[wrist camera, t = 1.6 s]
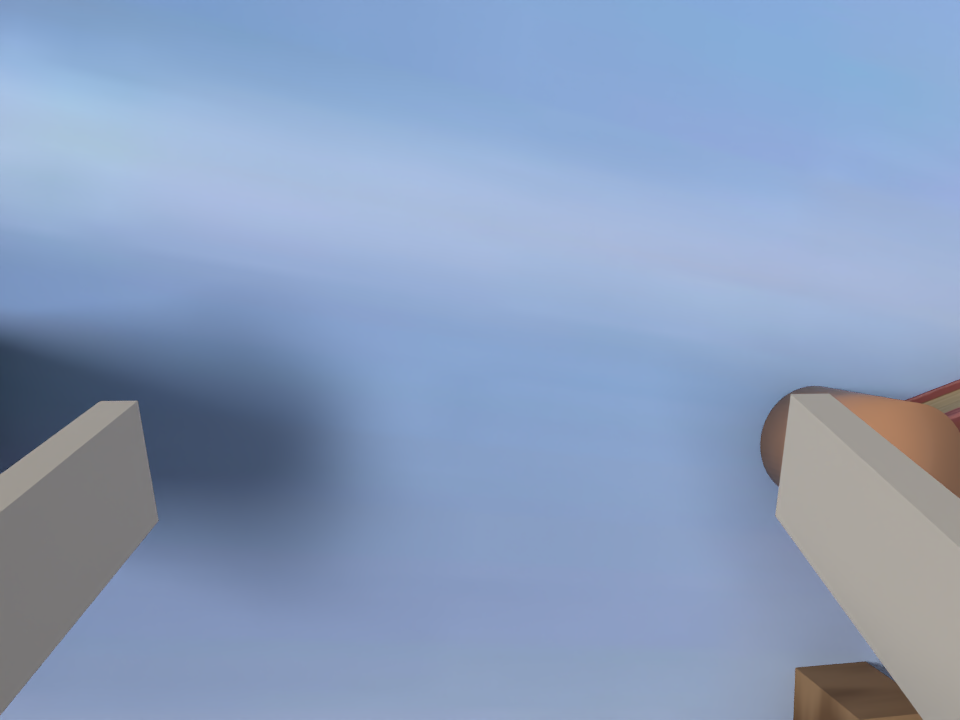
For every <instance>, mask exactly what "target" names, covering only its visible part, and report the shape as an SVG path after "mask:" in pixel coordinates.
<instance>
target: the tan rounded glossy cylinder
mask: <svg viewBox="0 0 960 720" xmlns="http://www.w3.org/2000/svg"><path fill="white" fill-rule="evenodd" d="M791 394H830V395H832V396H833V397H834V398H835V399H837V400H838V401H839V402H840V403H842V404H843V405H844V406H845V407H847V408H848V409H849V410H850V411H852V412H853V413H854V414H855V415H857V416H858V417H859V418H860V419H861V420H863V421H864V422H865V423H866V424H868V425H869V426H870V427H871V428H873V429H874V430H875V431H876V432H878V433H879V434H880V435H881V436H883V437H884V438H885V439H886V440H888V441H889V442H890V443H891V444H893V445H894V446H895V447H896V448H897V449H899V450H900V451H901V452H902V453H904V454H905V455H906V456H907V457H909V458H910V459H911V460H912V461H914V462H915V463H916V464H917V465H919V466H920V467H921V468H922V469H924V470H925V471H926V472H927V473H928V474H930V475H931V476H932V477H933V478H935V479H936V480H937V481H938V482H940V483H941V484H942V485H943V486H945V487H946V488H947V489H948V490H950V491H951V492H952V493H953V494H955V495H956V496H957V497H958V498H959V497H960V432H959V430H958V428H957V427H956V426H955V424H954V423H953V421H952V420H951V419H950V418H949V417H948V416H947V415H945V414H944V413H943V412H941V411H940V410H938V409H936V408H934V407H932V406H929V405H926V404H921V403H916V402H910V401H904V400H898V399H892V398H886V397H880V396H874V395H869V394H863V393H857V392H851V391H845V390H839V389H833V388H827V387H822V386H808V387H803V388H800V389H797V390H794V391H793V392H791V393H789V394H787V395H786V396H785V397H783V398H782V399H781V400H780V401H779V402H778V403H777V404H776V405H775V406H774V407H773V409H772V410H771V412H770V413H769V415H768V417H767V419H766V421H765V423H764V426H763V429H762V434H761V442H760V449H761V457H762V461H763V465H764V467H765V469H766V471H767V473H768V475H769V477H770V478H771V479H772V480H773V482H774V483H775V484H776V485H777V486H778V487H779V483H780V475H781V467H782V459H783V451H784V443H785V436H786V428H787V420H788V412H789V404H790V396H791Z"/></svg>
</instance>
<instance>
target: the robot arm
mask: <svg viewBox="0 0 960 720" xmlns="http://www.w3.org/2000/svg"><path fill="white" fill-rule="evenodd" d="M775 516H776V517H777V519H778V520H779V522H780V523H781V524H782V526H783V527H784V529H785V530H786V531H787V533H788V534H789V535H790V537H791V538H792V540H793V541H794V542H795V544H796V545H797V546H798V548H799V549H800V551H801V552H802V553H803V555H804V556H805V557H806V559H807V560H808V562H809V563H810V564H811V566H812V567H813V569H814V570H815V571H816V573H817V574H818V575H819V577H820V578H821V580H822V581H823V582H824V584H825V585H826V586H827V588H828V589H829V591H830V592H831V593H832V595H833V596H834V598H835V599H836V600H837V602H838V603H839V604H840V606H841V607H842V609H843V610H844V611H845V613H846V614H847V615H848V617H849V618H850V620H851V621H852V622H853V624H854V625H855V627H856V628H857V629H858V631H859V632H860V633H861V635H862V636H863V638H864V639H865V640H866V642H867V643H868V644H869V646H870V647H871V649H872V650H873V651H874V653H875V654H876V656H877V657H878V658H879V660H880V661H881V662H882V664H883V665H884V667H885V668H886V669H887V671H888V672H889V673H890V675H891V676H892V678H893V679H894V680H895V682H896V683H897V685H898V686H899V687H900V689H901V690H902V691H903V693H904V694H905V696H906V697H907V698H908V700H909V701H910V702H911V704H912V705H913V707H914V708H915V709H916V711H917V712H918V714H919V715H920V716H921V718H922V719H923V720H960V498H958V497H957V496H956V495H955V494H953V493H952V492H951V491H950V490H948V489H947V488H946V487H945V486H943V485H942V484H941V483H940V482H938V481H937V480H936V479H935V478H933V477H932V476H931V475H930V474H928V473H927V472H926V471H925V470H924V469H922V468H921V467H920V466H919V465H917V464H916V463H915V462H914V461H912V460H911V459H910V458H909V457H907V456H906V455H905V454H904V453H902V452H901V451H900V450H899V449H897V448H896V447H895V446H894V445H893V444H891V443H890V442H889V441H888V440H886V439H885V438H884V437H883V436H881V435H880V434H879V433H878V432H876V431H875V430H874V429H873V428H871V427H870V426H869V425H868V424H866V423H865V422H864V421H863V420H861V419H860V418H859V417H858V416H857V415H855V414H854V413H853V412H852V411H850V410H849V409H848V408H847V407H845V406H844V405H843V404H842V403H840V402H839V401H838V400H837V399H835V398H834V397H833V396H832V395H830V394H791V396H790V404H789V412H788V420H787V428H786V436H785V443H784V451H783V459H782V467H781V475H780V483H779V491H778V498H777V506H776V514H775ZM158 521H159V520H158V514H157V509H156V503H155V497H154V491H153V486H152V480H151V474H150V468H149V463H148V457H147V451H146V445H145V439H144V434H143V428H142V422H141V416H140V411H139V405H138V401H100V402H98V403H97V404H95V405H94V406H93V407H91V408H90V409H89V410H87V411H86V412H85V413H83V414H82V415H81V416H79V417H78V418H76V419H75V420H74V421H72V422H71V423H70V424H68V425H67V426H66V427H64V428H63V429H61V430H60V431H59V432H57V433H56V434H55V435H53V436H52V437H51V438H49V439H48V440H46V441H45V442H44V443H42V444H41V445H40V446H38V447H37V448H36V449H34V450H33V451H31V452H30V453H29V454H27V455H26V456H25V457H23V458H22V459H21V460H19V461H18V462H16V463H15V464H14V465H12V466H11V467H10V468H8V469H7V470H6V471H4V472H3V473H1V474H0V715H1V714H2V713H3V711H4V710H5V709H6V708H7V706H8V705H9V704H10V703H11V702H12V700H13V699H14V698H15V697H16V695H17V694H18V693H19V692H20V690H21V689H22V688H23V687H24V686H25V684H26V683H27V682H28V681H29V679H30V678H31V677H32V676H33V674H34V673H35V672H36V671H37V670H38V668H39V667H40V666H41V665H42V663H43V662H44V661H45V660H46V659H47V657H48V656H49V655H50V654H51V652H52V651H53V650H54V649H55V647H56V646H57V645H58V644H59V643H60V641H61V640H62V639H63V638H64V636H65V635H66V634H67V633H68V631H69V630H70V629H71V628H72V627H73V625H74V624H75V623H76V622H77V620H78V619H79V618H80V617H81V616H82V614H83V613H84V612H85V611H86V609H87V608H88V607H89V606H90V604H91V603H92V602H93V601H94V600H95V598H96V597H97V596H98V595H99V593H100V592H101V591H102V590H103V588H104V587H105V586H106V585H107V584H108V582H109V581H110V580H111V579H112V577H113V576H114V575H115V574H116V573H117V571H118V570H119V569H120V568H121V566H122V565H123V564H124V563H125V561H126V560H127V559H128V558H129V557H130V555H131V554H132V553H133V552H134V550H135V549H136V548H137V547H138V545H139V544H140V543H141V542H142V541H143V539H144V538H145V537H146V536H147V534H148V533H149V532H150V531H151V530H152V528H153V527H154V526H155V525H156V523H157V522H158Z"/></svg>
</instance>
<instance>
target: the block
mask: <svg viewBox="0 0 960 720" xmlns="http://www.w3.org/2000/svg"><path fill="white" fill-rule="evenodd" d="M793 720H923V719H922V718H921V716H920V715H919V714H918V712H917V711H916V709H915V708H914V707H913V705H912V704H911V702H910V701H909V700H908V698H907V697H906V696H905V694H904V693H903V691H902V690H901V689H900V687H899V686H898V685H897V683H896V682H895V681H893V680H892V679H890V678H889V677H887V676H886V675H884V674H883V673H882V672H880V671H879V670H877V669H876V668H874V667H873V666H871V665H870V664H868V663H867V662H856V663H844V664H833V665H821V666H810V667H798V668H796V669H795V694H794V719H793Z"/></svg>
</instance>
